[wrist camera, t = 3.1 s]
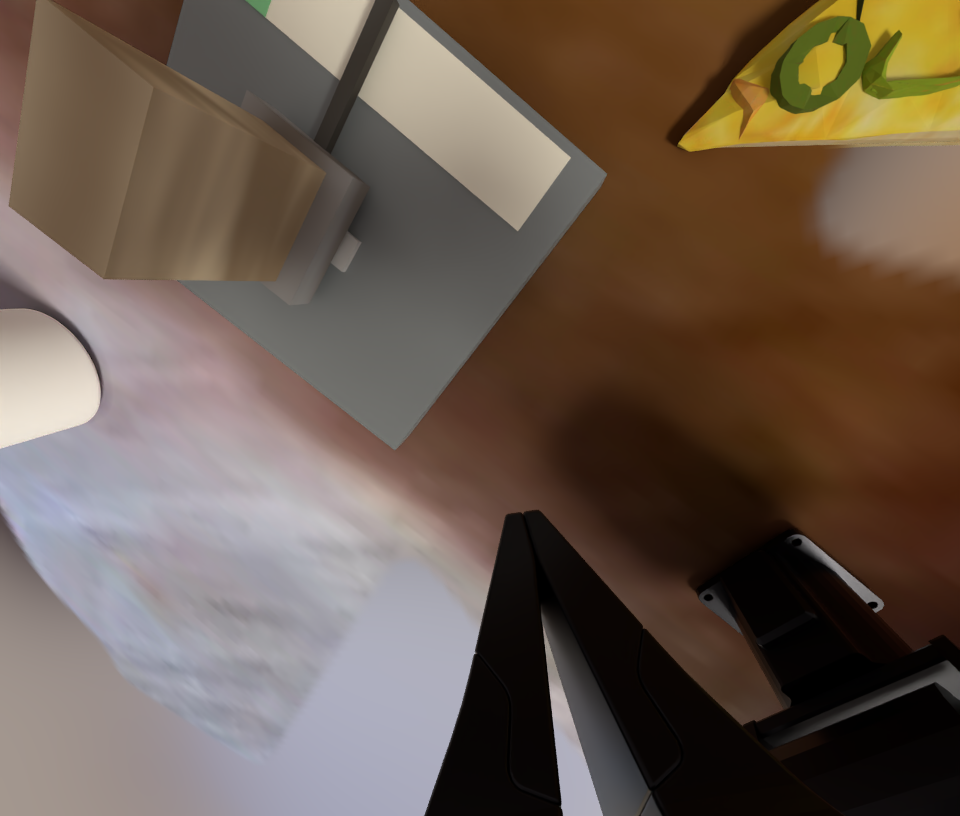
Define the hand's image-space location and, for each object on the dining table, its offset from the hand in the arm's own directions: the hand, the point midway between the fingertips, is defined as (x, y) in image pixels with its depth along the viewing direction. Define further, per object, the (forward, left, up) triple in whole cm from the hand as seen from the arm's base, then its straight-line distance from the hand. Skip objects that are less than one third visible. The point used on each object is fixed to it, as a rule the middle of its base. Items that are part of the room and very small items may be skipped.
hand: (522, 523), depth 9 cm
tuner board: (+13, -1, -11) cm, 17 cm away
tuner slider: (+14, -3, -9) cm, 17 cm away
